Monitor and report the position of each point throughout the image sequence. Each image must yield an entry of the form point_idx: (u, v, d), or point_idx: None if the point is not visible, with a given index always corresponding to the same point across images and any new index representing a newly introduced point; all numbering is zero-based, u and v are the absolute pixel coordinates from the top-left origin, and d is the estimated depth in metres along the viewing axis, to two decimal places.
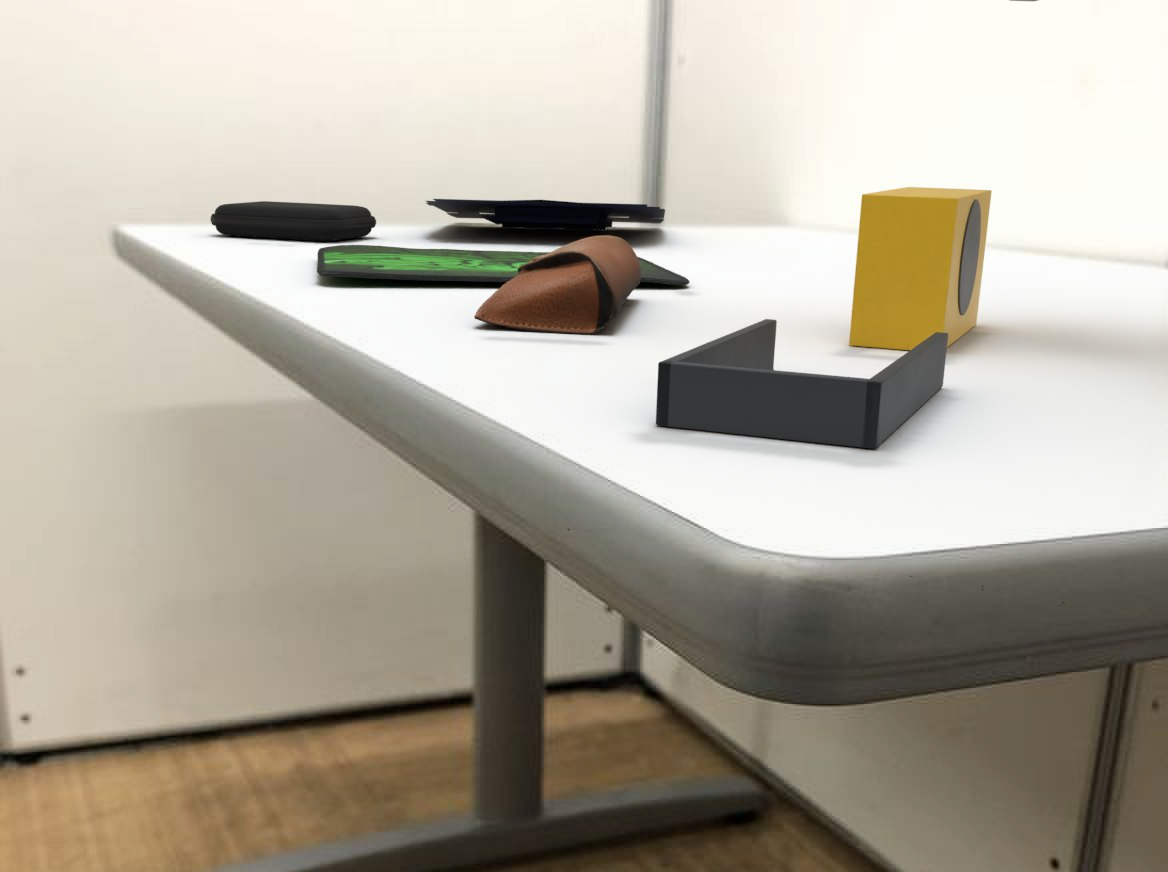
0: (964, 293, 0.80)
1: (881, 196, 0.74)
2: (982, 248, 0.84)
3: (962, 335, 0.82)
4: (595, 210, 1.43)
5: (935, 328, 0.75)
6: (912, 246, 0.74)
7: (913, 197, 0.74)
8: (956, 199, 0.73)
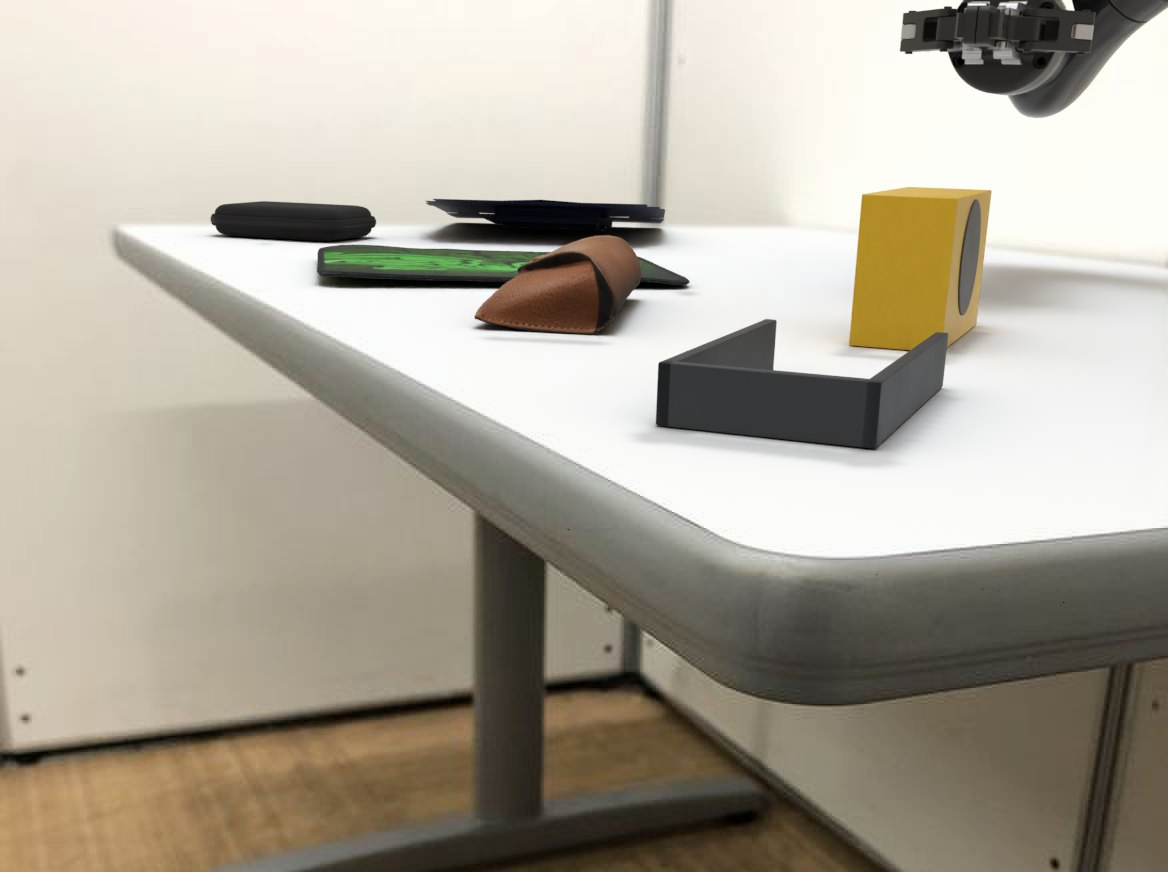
0: (964, 293, 0.80)
1: (881, 196, 0.74)
2: (982, 248, 0.84)
3: (962, 335, 0.82)
4: (595, 210, 1.43)
5: (935, 328, 0.75)
6: (912, 246, 0.74)
7: (913, 197, 0.74)
8: (956, 199, 0.73)
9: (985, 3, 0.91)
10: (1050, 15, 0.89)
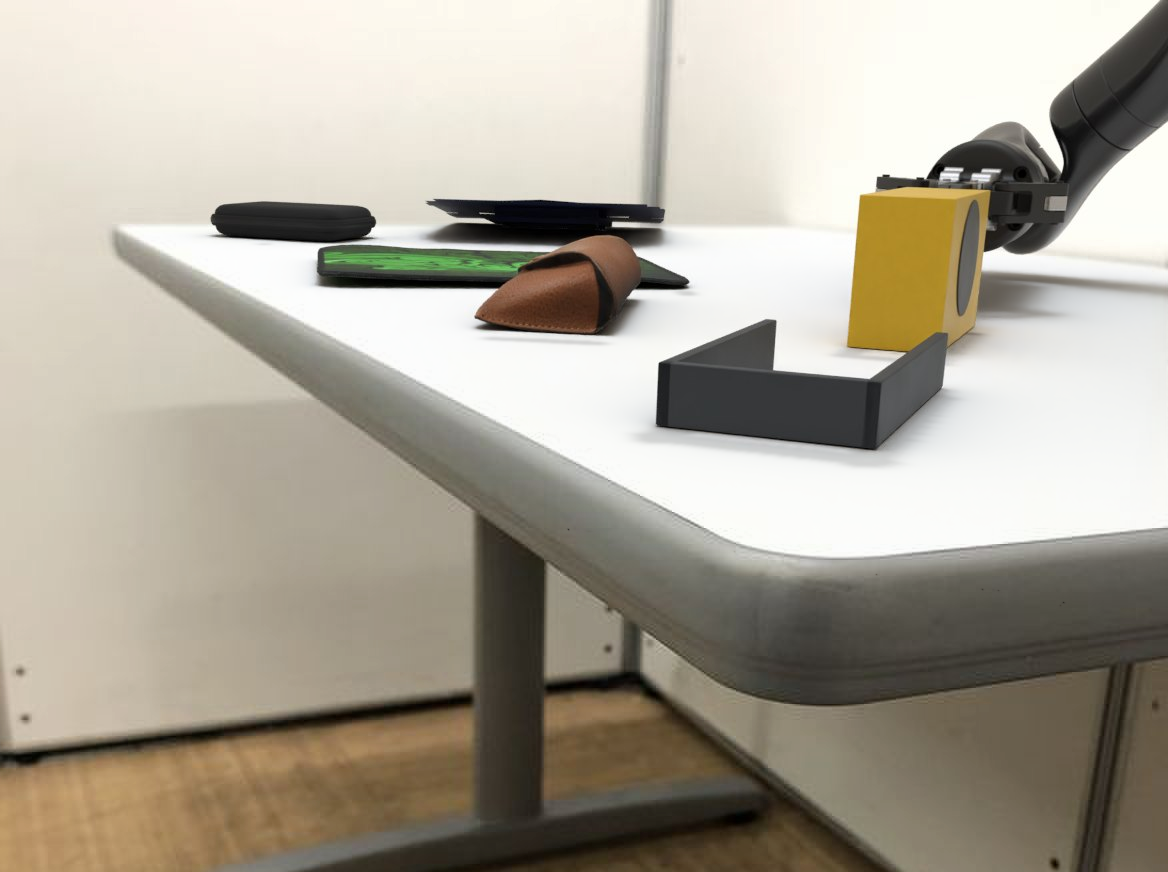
0: (963, 294, 0.79)
1: (879, 196, 0.74)
2: (981, 248, 0.84)
3: None
4: (595, 210, 1.43)
5: (933, 329, 0.75)
6: (910, 247, 0.74)
7: (911, 197, 0.73)
8: (954, 199, 0.73)
9: (958, 173, 0.90)
10: (1022, 189, 0.88)
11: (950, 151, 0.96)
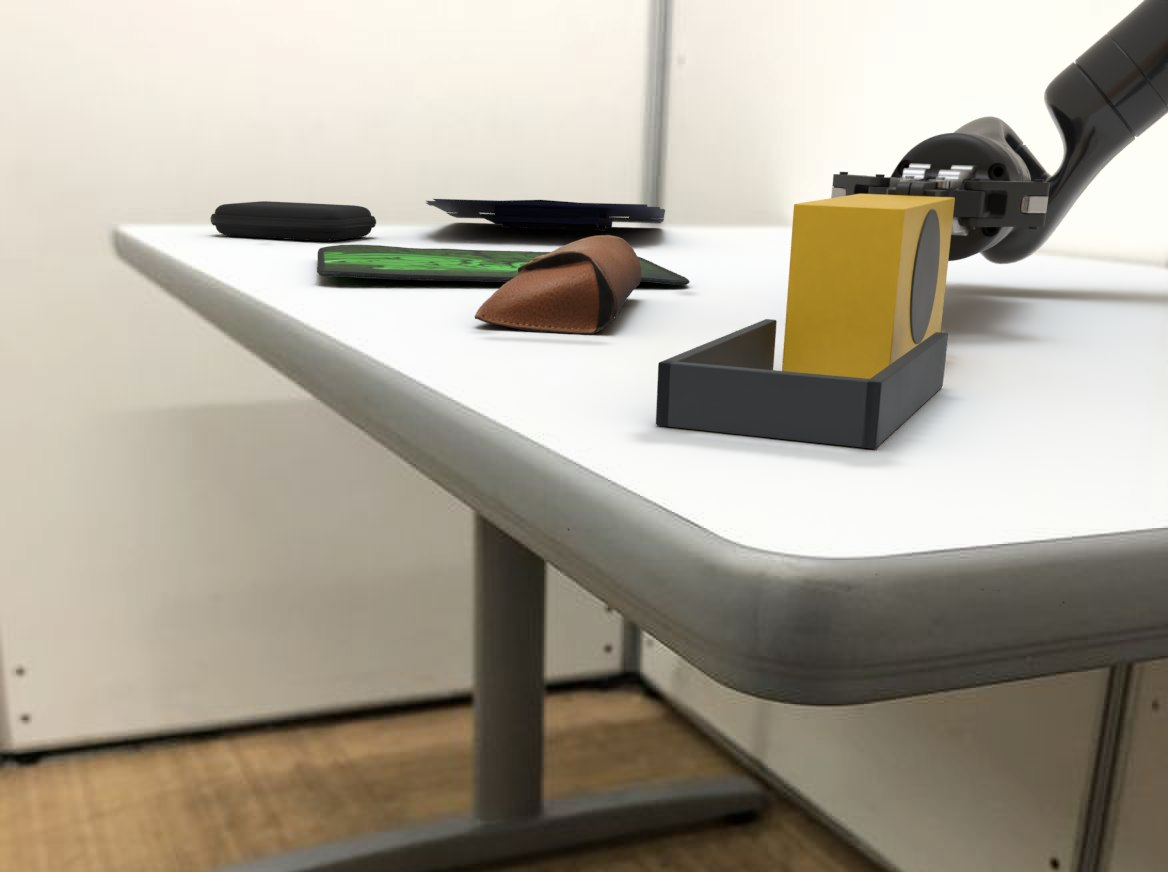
0: (919, 318, 0.68)
1: (816, 206, 0.63)
2: (944, 265, 0.73)
3: None
4: (595, 210, 1.43)
5: (880, 361, 0.64)
6: (852, 265, 0.63)
7: (853, 207, 0.63)
8: (903, 210, 0.62)
9: (923, 170, 0.79)
10: (996, 188, 0.77)
11: (917, 146, 0.85)
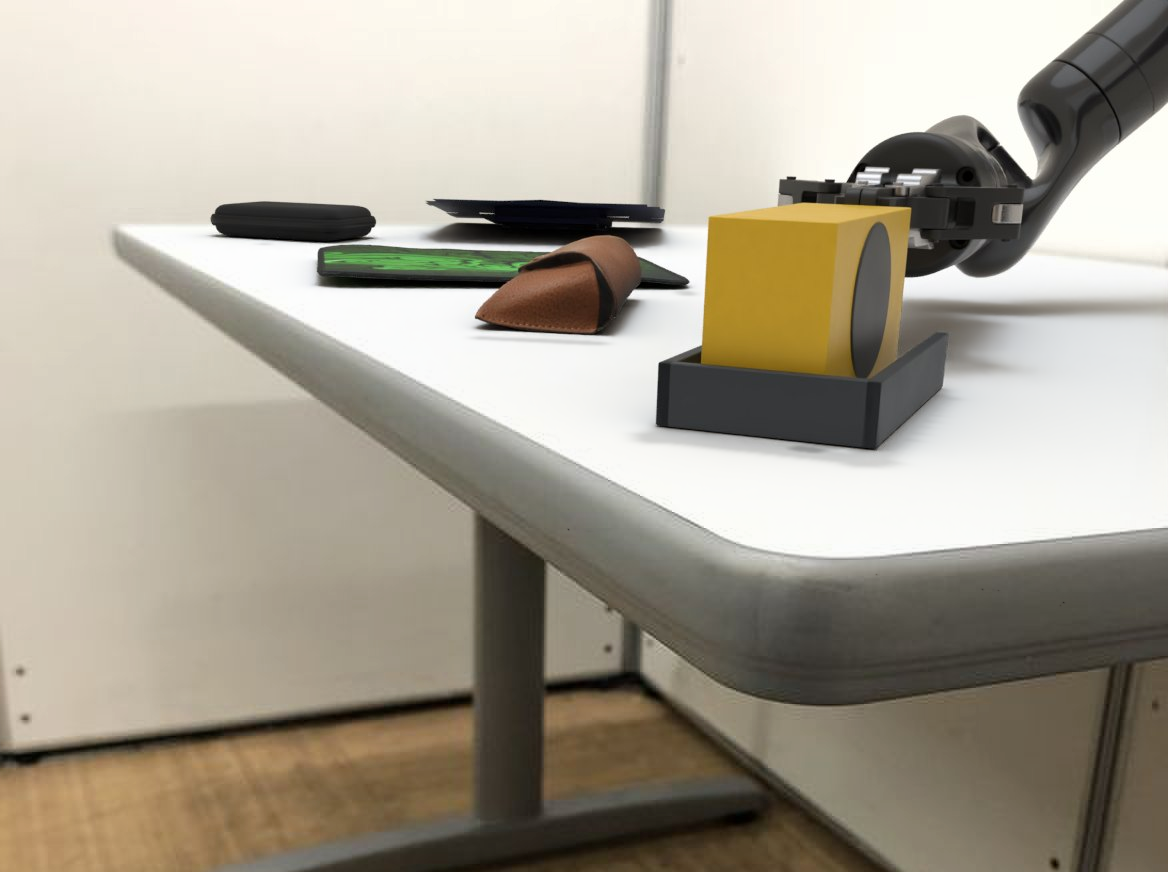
0: (863, 350, 0.58)
1: (734, 219, 0.53)
2: (898, 285, 0.63)
3: None
4: (595, 210, 1.43)
5: None
6: (778, 289, 0.53)
7: (777, 221, 0.52)
8: (836, 224, 0.51)
9: (879, 175, 0.69)
10: (962, 195, 0.67)
11: (876, 147, 0.75)
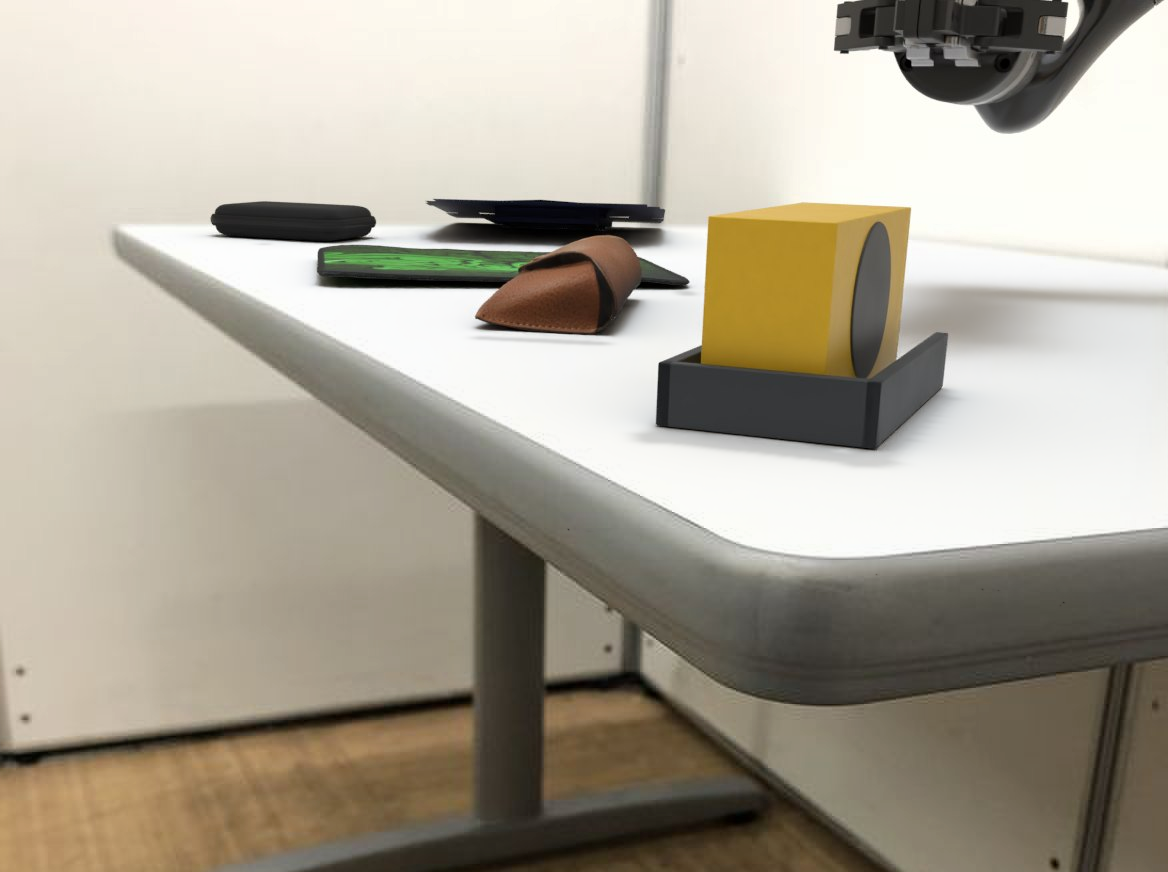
0: (863, 350, 0.58)
1: (734, 219, 0.53)
2: (898, 285, 0.63)
3: None
4: (595, 210, 1.43)
5: None
6: (778, 289, 0.53)
7: (777, 221, 0.52)
8: (836, 224, 0.51)
9: None
10: (1012, 5, 0.72)
11: None
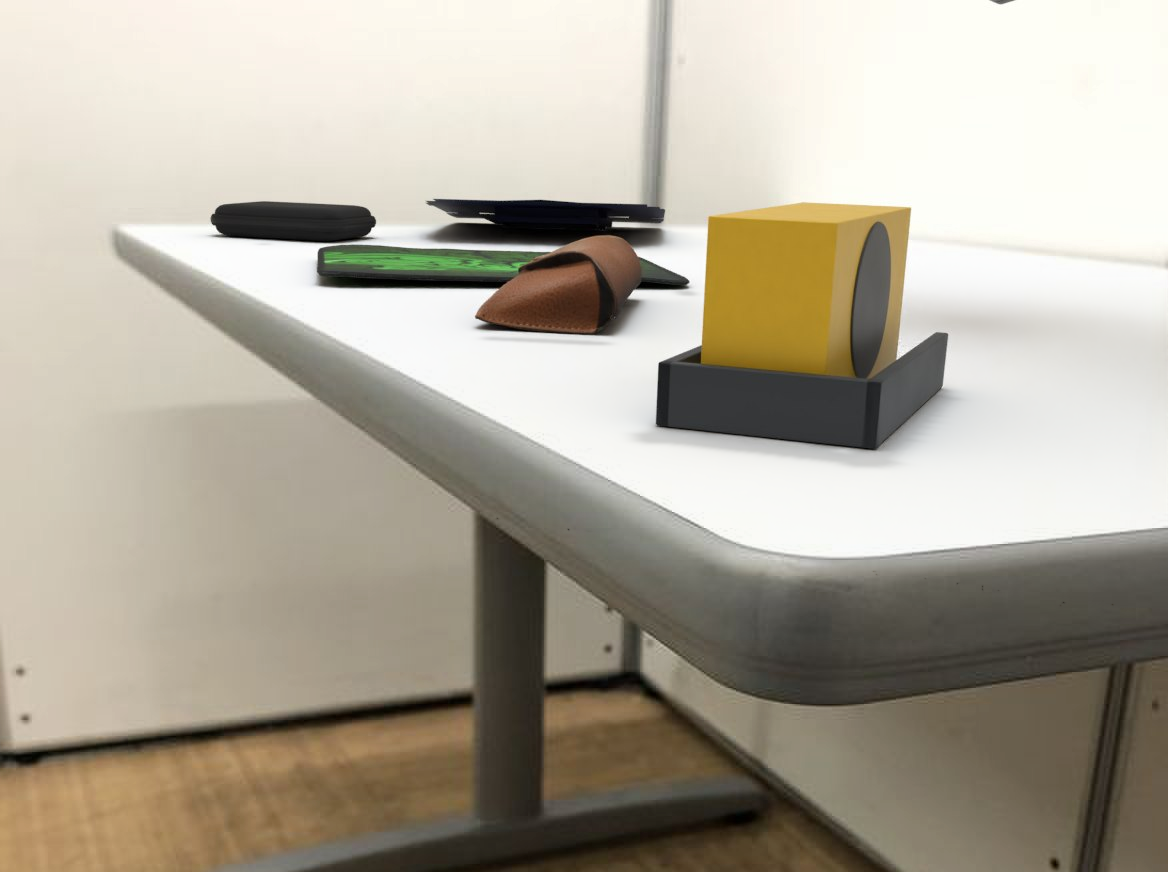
0: (863, 350, 0.58)
1: (734, 219, 0.53)
2: (898, 285, 0.63)
3: None
4: (595, 210, 1.43)
5: None
6: (778, 289, 0.53)
7: (777, 221, 0.52)
8: (836, 224, 0.51)
9: None
10: None
11: None
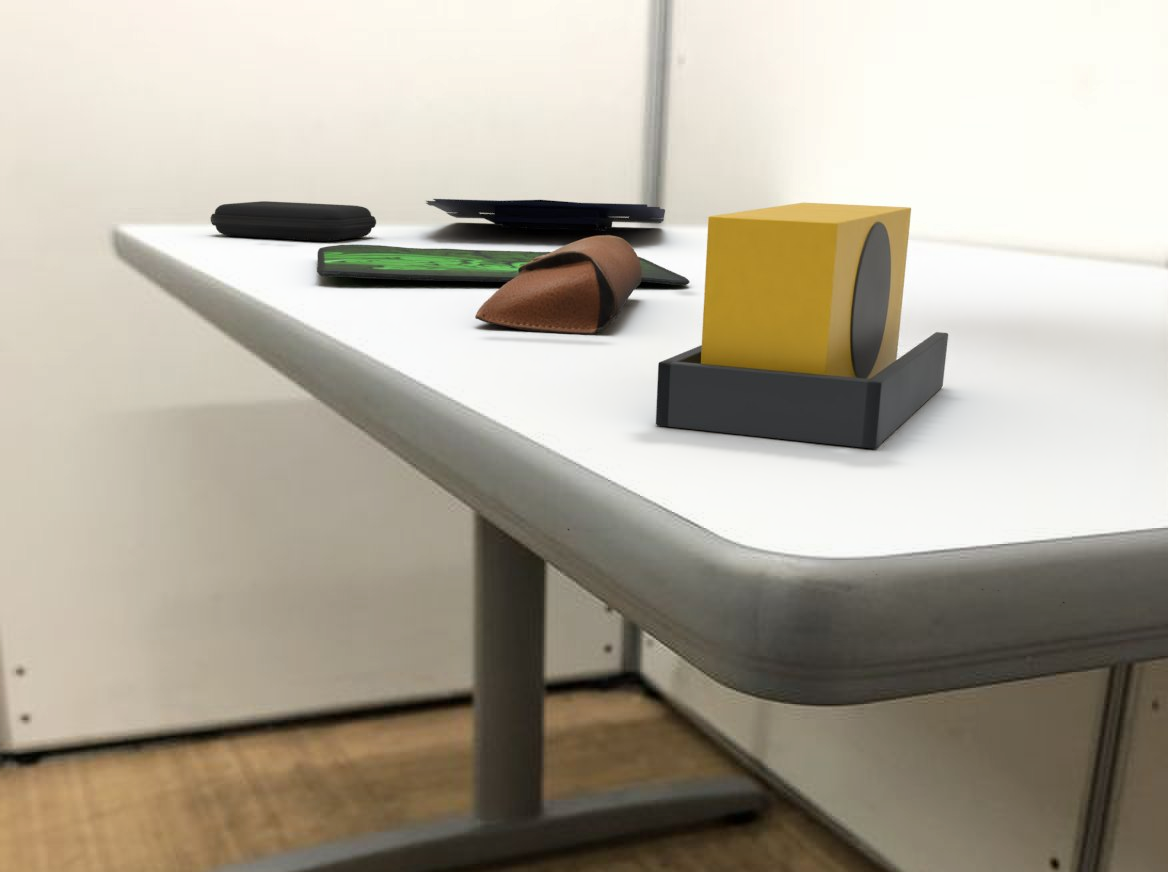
0: (863, 350, 0.58)
1: (734, 219, 0.53)
2: (898, 285, 0.63)
3: None
4: (595, 210, 1.43)
5: None
6: (778, 290, 0.53)
7: (777, 221, 0.52)
8: (836, 224, 0.51)
9: None
10: None
11: None
